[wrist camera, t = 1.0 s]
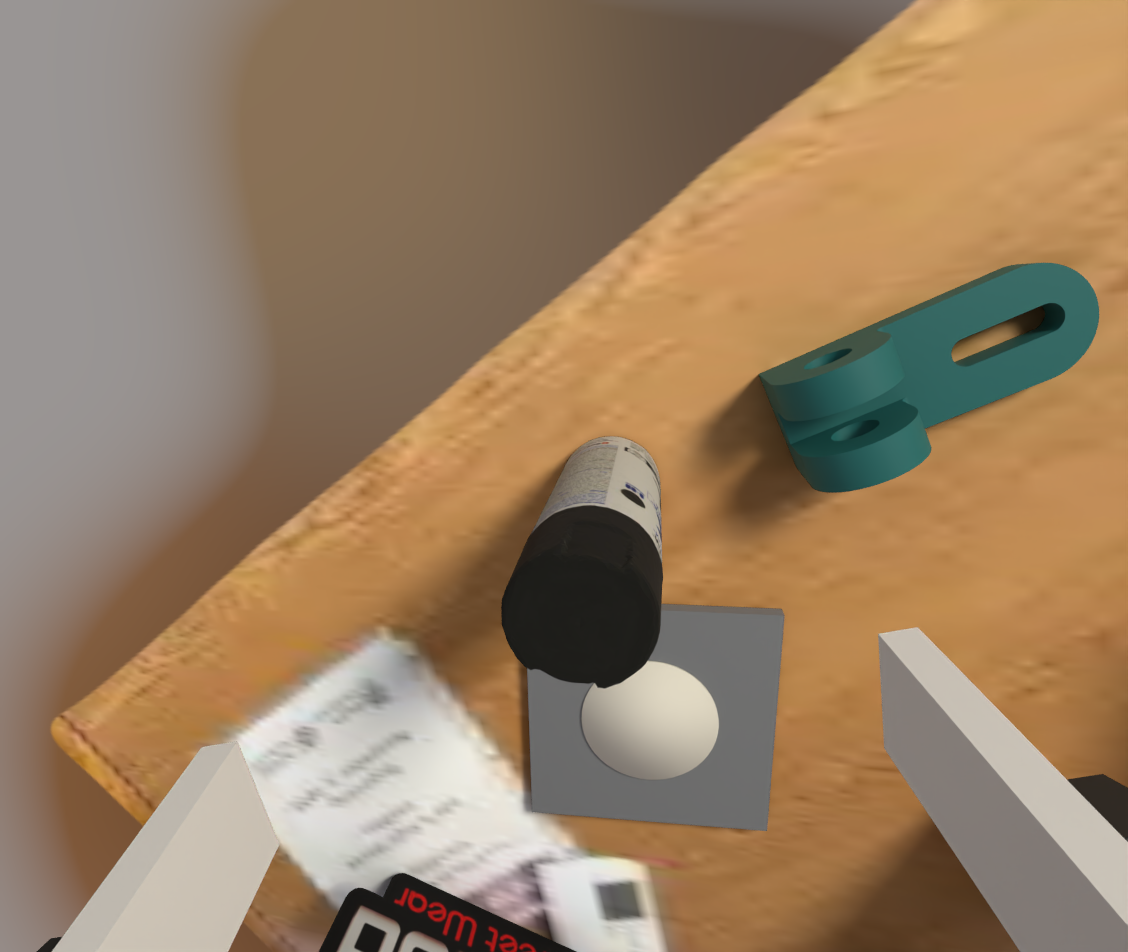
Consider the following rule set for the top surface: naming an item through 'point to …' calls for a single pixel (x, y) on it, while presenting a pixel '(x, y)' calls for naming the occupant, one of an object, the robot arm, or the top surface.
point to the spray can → (591, 570)
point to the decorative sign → (424, 924)
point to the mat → (667, 727)
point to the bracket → (923, 373)
